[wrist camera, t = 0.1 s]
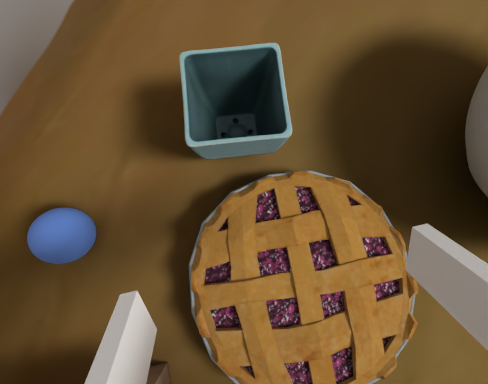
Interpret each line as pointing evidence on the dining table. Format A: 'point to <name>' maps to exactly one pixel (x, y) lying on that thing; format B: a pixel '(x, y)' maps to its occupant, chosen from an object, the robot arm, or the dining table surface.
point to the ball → (61, 235)
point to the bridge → (158, 374)
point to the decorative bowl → (478, 134)
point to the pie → (301, 283)
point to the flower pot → (234, 100)
